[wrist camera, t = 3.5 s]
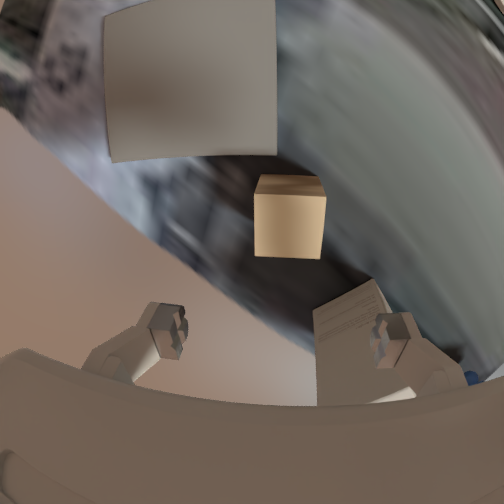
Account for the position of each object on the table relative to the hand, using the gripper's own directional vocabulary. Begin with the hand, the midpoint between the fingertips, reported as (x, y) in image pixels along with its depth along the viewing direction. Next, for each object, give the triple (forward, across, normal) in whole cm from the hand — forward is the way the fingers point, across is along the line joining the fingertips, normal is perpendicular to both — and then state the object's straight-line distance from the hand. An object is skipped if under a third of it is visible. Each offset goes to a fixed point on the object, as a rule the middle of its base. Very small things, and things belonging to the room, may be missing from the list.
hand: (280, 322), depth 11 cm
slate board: (+13, +8, -11) cm, 19 cm away
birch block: (+13, 0, 0) cm, 13 cm away
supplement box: (+13, -8, +12) cm, 20 cm away
